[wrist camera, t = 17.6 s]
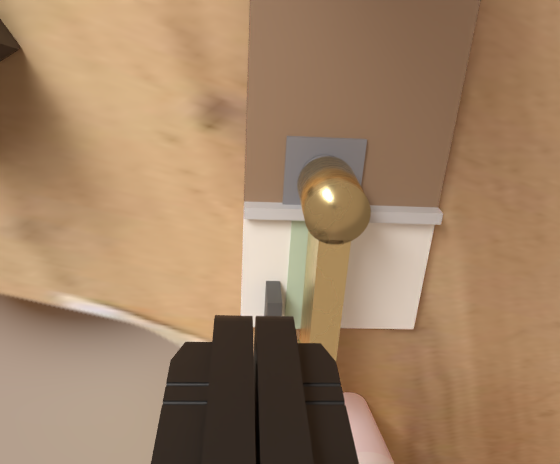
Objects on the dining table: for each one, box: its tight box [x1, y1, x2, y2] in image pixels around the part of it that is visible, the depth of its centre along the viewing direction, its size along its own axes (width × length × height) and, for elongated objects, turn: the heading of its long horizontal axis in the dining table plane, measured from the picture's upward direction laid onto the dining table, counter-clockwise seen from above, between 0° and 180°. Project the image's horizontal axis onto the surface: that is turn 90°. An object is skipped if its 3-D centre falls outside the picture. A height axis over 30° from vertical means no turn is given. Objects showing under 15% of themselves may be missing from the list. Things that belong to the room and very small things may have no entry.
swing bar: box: [297, 156, 371, 361], centre depth 33 cm, size 15×4×5 cm, turn 177°
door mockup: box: [241, 0, 481, 329], centre depth 34 cm, size 24×13×4 cm, turn 177°
